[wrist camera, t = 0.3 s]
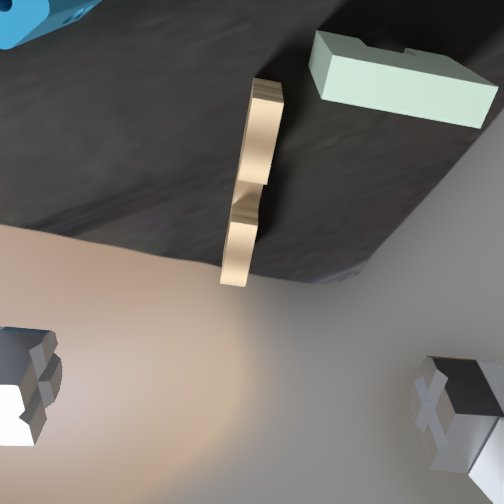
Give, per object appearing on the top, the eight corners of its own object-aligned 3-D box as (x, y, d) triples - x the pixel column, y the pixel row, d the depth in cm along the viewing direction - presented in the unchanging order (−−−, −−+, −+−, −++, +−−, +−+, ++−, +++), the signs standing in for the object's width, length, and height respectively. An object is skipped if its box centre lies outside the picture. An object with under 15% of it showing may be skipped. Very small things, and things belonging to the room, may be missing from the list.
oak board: (253, 77, 51) (252, 97, 45) (280, 82, 52) (283, 103, 45) (224, 247, 63) (219, 283, 57) (246, 250, 64) (245, 287, 57)
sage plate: (316, 30, 49) (332, 54, 38) (446, 55, 50) (498, 87, 39) (308, 65, 51) (321, 98, 40) (433, 89, 52) (480, 128, 41)
